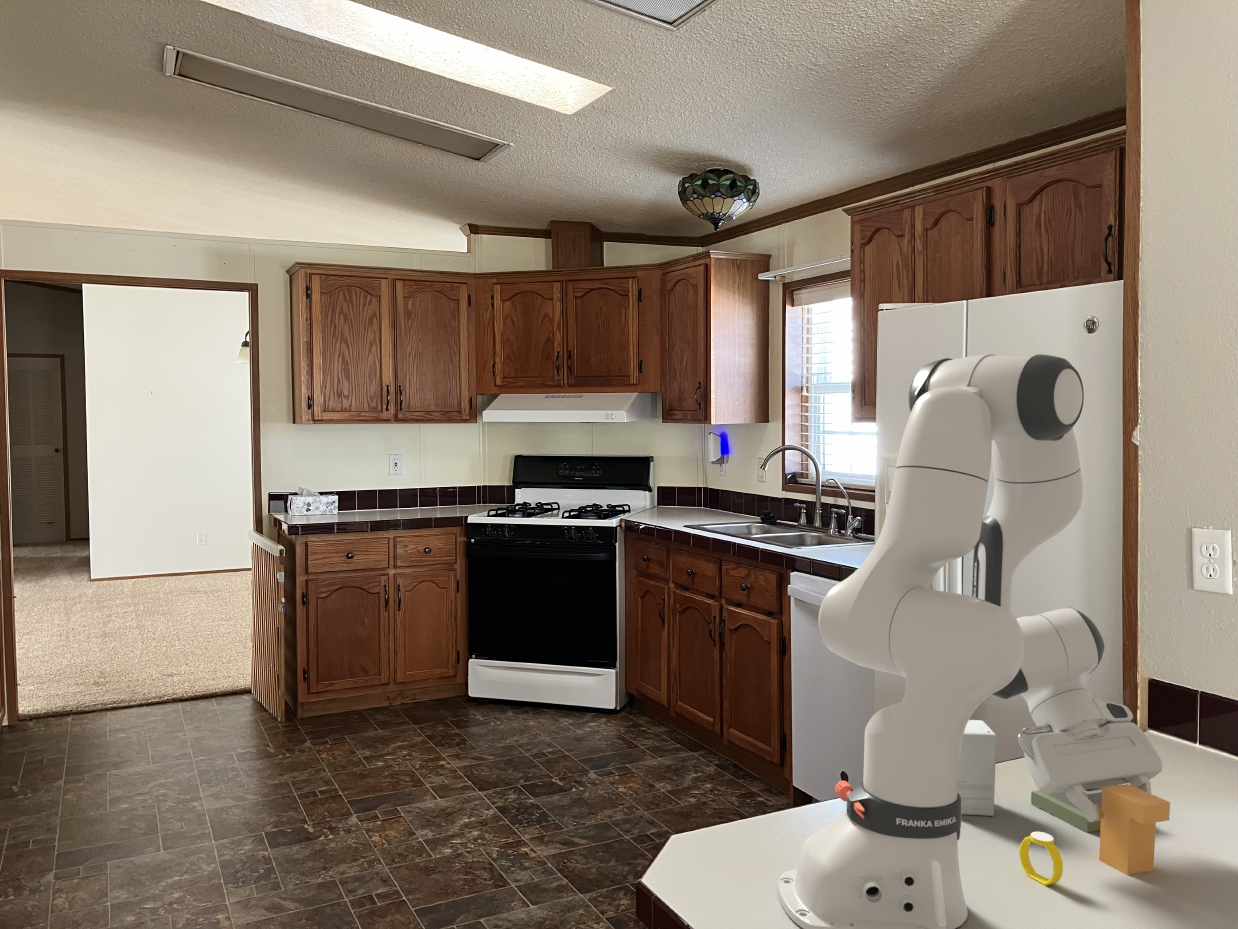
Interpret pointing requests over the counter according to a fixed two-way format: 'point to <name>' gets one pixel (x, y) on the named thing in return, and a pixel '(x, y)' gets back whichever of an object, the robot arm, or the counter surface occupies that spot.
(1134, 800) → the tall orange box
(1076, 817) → the grey-rimmed base plate
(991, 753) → the supplement box
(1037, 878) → the watch
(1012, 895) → the counter surface
